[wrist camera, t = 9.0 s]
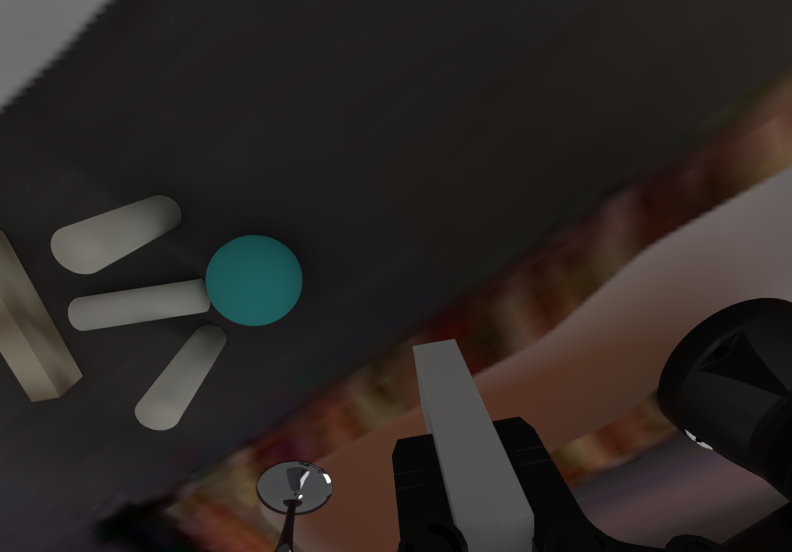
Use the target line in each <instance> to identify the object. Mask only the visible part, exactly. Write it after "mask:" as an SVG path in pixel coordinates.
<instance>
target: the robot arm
mask: <svg viewBox="0 0 792 552" xmlns="http://www.w3.org/2000/svg"><path fill="white" fill-rule="evenodd" d="M413 351H414V358H415V365H416V372H417V379H418V386H419V393H420V400H421V407H422V411H423V415H424V420H425V425H426V429H427V433H428V434H427V435H420V436H415V437H409V438H404V439H398V440H397V443H396V446H395V449H394V452H393V454H392V461H393V470H394V480H395V488H396V499H397V509H398V519H399V528H400V539H401V541H400V543H399V548H398V552H792V302H789V301H786V300H782V299H777V298H758V299H752V300H747V301H743V302H740V303H737V304H734V305H731V306H729V307H727V308H725V309H722V310H720V311H718V312H717V313H715V314H713V315H712V316H710V317H708V318H707V319H706V320H704V321H703V322H701V323H700V324H699V325H697V326H696V327H695V328H694V329H692V330H691V331H690V332H689V333H688V334H687V335H686V336H685V337H684V338H683V339H682V340H681V342H680V343H679V344H678V345H677V347H676V348H675V349H674V351H673V352H672V353H671V355H670V357H669V359H668V361H667V362H666V364H665V367H664V369H663V371H662V374H661V377H660V382H659V388H658V397H659V403H660V406H661V409H662V411H663V413H664V415H665V416H666V417H667V418H668V420H669V421H670V422H671V423H673V424H674V425H675V426H676V427H677V428H678V429H679V430H680V431H681V432H682V433H683V434H684V435H685V436H686V437H688V438H689V439H691V440H692V441H693V442H695V443H697V444H699V445H701V446H703V447H705V448H708V449H711V450H714V451H715V452H717V453H718V454H720V455H721V456H723V457H725V458H726V459H728V460H730V461H731V462H733V463H735V464H737V465H739V466H741V467H742V468H744V469H746V470H748V471H750V472H752V473H754V474H756V475H758V476H759V477H761V478H763V479H764V480H766V481H767V482H768V483H769V484H770V485H772V486H773V487H774V488H775V489H776V490H777V491H779V492H780V493H781V494H782V495H783V496H784V497H786V498H787V499H788V500H789V501H790V502H789V503H787V504H785V505H784V506H782V507H781V508H779V509H777V510H776V511H774V512H772V513H770V514H768V515H767V516H765V517H764V518H762V519H760V520H759V521H757V522H755V523H754V524H752V525H751V526H749V527H747V528H746V529H744V530H742V531H741V532H739V533H738V534H736V535H734V536H733V537H731V538H729V539H728V540H726V541H725V542H723V543H721V544H718V543H716V542H713V541H711V540H709V539H706V538H704V537H702V536H695V535H688V534H684V535H680V536H676V537H673V538H672V539H671V540H670V541H669V542H668V543H667V544H666V547H665V549H661V548H655V547H648V546H641V545H635V544H629V543H625V542H622V541H618V540H616V539H614V538H612V537H610V536H607V535H606V534H604V533H603V532H602V531H601V530H599V529H598V528H596V527H595V526H594V525H593V524H592V523H591V522H590V521H589V520H588V519H587V517H586V516H585V515H584V513H583V512H582V510H581V509H580V507H579V505H578V503H577V502H576V500H575V498H574V496H573V495H572V493H571V491H570V490H569V488H568V486H567V484H566V483H565V481H564V479H563V477H562V476H561V474H560V472H559V471H558V469H557V467H556V465H555V464H554V462H553V461H552V460H551V457H550V455H549V453H548V452H547V450H546V449H545V448H544V446H543V443H542V441H541V440H540V438H539V436H538V434H537V433H536V431H535V429H534V428H533V427H531V426H530V425H529V424H528V423H527V422H525V421H524V420H523V419H522V418H520V417H514V418H509V419H503V420H497V421H491V419H490V417H489V414H488V412H487V410H486V408H485V406H484V403H483V401H482V399H481V397H480V395H479V392H478V390H477V388H476V386H475V384H474V381H473V379H472V377H471V374H470V372H469V370H468V368H467V366H466V363H465V361H464V359H463V357H462V354H461V352H460V350H459V348H458V346H457V343H456V341H455V339H451V340H446V341H440V342H434V343H428V344H422V345H417V346H413Z"/></svg>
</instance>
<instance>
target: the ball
mask: <svg viewBox="0 0 792 552" xmlns="http://www.w3.org/2000/svg"><path fill="white" fill-rule="evenodd" d="M206 289H207V293H208V296H209V298H210V301H211V302H212V304H213V305H214V307H215V308H216V309H217V310H218V311H219V312H220V313H221V314H222V315H223V316H224V317H226V318H228V319H229V320H231V321H233V322H236V323H238V324H242V325H248V326H259V325H266V324H269V323H272V322H274V321H276V320H279V319H280V318H282V317H283V316H285V315H286V314H287V313H288V312H289V311H290V310H291V309H292V308H293V307H294V305H295V304H296V302H297V300H298V298H299V296H300V293H301V289H302V271H301V268H300V265H299V262H298V260H297V259H296V257H295V255H294V254H293V253H292V252H291V251H290V250H289V249H288V248H287V247H286V246H285V245H284V244H282V243H281V242H279V241H277V240H275V239H273V238H269V237H266V236H260V235H248V236H243V237H239V238H236V239H234V240H231V241H230V242H228V243H226V244H225V245H223V246H222V247H221V248H220V249H219V250H218V251H217V252H216V253H215V255H214V256H213V257H212V259H211V261H210V263H209V265H208V268H207V272H206Z"/></svg>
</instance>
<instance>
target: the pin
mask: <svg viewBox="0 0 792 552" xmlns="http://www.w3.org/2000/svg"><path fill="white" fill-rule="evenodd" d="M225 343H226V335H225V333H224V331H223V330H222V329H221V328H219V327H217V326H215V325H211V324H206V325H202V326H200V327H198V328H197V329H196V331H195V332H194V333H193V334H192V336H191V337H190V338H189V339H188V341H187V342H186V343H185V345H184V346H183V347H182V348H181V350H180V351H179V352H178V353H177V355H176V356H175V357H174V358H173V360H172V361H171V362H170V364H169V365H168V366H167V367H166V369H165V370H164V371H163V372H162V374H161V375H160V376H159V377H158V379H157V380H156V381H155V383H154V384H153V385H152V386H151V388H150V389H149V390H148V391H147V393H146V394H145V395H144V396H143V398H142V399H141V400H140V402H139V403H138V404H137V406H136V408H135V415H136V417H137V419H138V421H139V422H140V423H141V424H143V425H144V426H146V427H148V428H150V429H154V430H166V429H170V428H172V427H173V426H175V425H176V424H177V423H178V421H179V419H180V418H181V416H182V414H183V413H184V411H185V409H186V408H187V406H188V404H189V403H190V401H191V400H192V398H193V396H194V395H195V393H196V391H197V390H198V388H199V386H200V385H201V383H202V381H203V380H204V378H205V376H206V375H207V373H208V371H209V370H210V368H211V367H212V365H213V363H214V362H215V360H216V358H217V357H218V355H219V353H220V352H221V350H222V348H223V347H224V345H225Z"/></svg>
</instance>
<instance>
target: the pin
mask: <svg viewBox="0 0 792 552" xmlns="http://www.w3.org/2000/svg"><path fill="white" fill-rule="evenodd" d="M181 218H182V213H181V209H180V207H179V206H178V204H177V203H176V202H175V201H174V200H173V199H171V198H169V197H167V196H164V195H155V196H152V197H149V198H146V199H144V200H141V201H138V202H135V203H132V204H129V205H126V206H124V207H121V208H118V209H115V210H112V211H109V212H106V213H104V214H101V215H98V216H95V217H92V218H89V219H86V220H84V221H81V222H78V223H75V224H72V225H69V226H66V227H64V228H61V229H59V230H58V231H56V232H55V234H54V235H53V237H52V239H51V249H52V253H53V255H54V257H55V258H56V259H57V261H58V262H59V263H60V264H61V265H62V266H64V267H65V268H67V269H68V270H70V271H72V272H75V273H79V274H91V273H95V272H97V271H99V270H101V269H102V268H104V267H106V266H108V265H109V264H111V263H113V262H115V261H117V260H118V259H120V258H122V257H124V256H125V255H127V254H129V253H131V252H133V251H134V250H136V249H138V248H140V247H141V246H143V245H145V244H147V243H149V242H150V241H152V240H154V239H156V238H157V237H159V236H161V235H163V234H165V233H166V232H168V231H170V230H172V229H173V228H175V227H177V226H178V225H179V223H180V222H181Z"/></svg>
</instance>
